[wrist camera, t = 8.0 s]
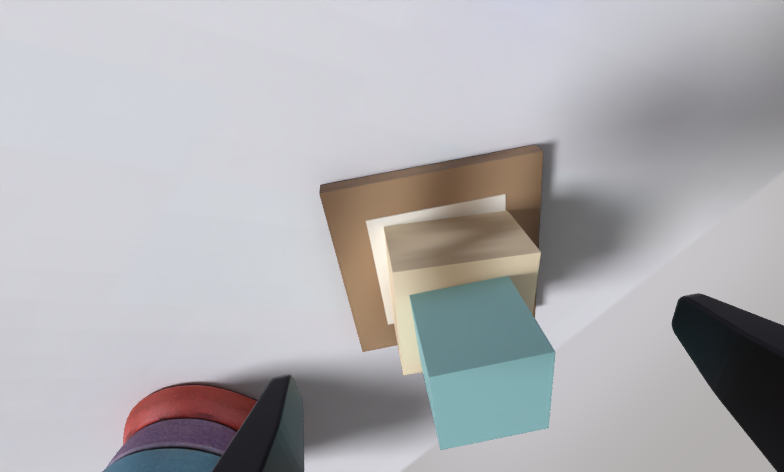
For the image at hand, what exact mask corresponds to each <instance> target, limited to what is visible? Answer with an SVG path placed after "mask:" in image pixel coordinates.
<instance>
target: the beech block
mask: <svg viewBox="0 0 784 472" xmlns="http://www.w3.org/2000/svg"><path fill="white" fill-rule="evenodd" d="M384 236H385V245H386V254H387V264H388V273H389V282H390V291H391V301H392V310H393V319H394V326H395V331H396V337H397V343H398V349H399V355H400V360H401V366H402V372H403V375H408V374H414V373H421V372H423V371H422V366H421V361H420V356H419V350H418V344H417V338H416V332H415V326H414V320H413V314H412V309H411V303H410V297H409V295H412V294H417V293H422V292H427V291H432V290H437V289H442V288H447V287H453V286H458V285H463V284H468V283H473V282H478V281H483V280H488V279H493V278H498V277H503V276H509V277H510V279H511V281H512V282H513V284H514V286H515V287H516V289H517V290H518V292H519V294H520V295H521V297H522V299H523V300H524V302H525V303H526V305H527V307H528V308H529V310H530V312H531V313H532V315H533V308H534V301H535V293H536V286H537V278H538V271H539V263H540V256H541V252H540V250H539V249H538V248H537V247H536V245H535V244H534V243H533V242H532V240H531V239H530V238H529V237H528V235H527V234H526V233H525V232H524V230H523V229H522V228H521V227H520V225H519V224H518V223H517V222H516V220H515V219H514V218H513V217H512V215H511V214H510V213H509V212H508V210H507V211H500V212H492V213H484V214H476V215H469V216H461V217H453V218H446V219H438V220H430V221H423V222H415V223H407V224H400V225H392V226H384Z"/></svg>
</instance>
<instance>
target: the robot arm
mask: <svg viewBox="0 0 784 472" xmlns="http://www.w3.org/2000/svg"><path fill="white" fill-rule="evenodd" d="M672 328H673V331H674V333H675V335H676V336H677V338H678V339H679V341H680V342H681V344H682V345H683V347H684V348H685V350H686V351H687V353H688V354H689V356H690V357H691V359H692V360H693V362H694V363H695V365H696V366H697V368H698V369H699V371H700V373H701V374H702V376H703V377H704V379H705V380H706V382H707V383H708V385H709V386H710V387H711V389H712V390H713V392H714V393H715V394H716V396H717V397H718V398H719V400H720V401H721V402H722V404H723V405H724V406H725V407H726V409H727V410H728V411H729V412H730V413H731V415H732V416H733V417H734V418H735V420H736V421H737V422H738V423H739V425H740V426H741V427H742V428H743V430H744V431H745V432H746V433H747V435H748V436H749V437H750V438H751V440H752V441H753V442H754V443H755V445H756V446H757V447H758V448H759V450H760V451H761V452H762V453H763V455H764V456H765V457H766V458H767V459H768V461H769V462H770V463H771V465H772V466H773V467H774V468H775V470H776V471H777V472H784V326H783V325H781V324H778V323H775V322H773V321H771V320H768V319H765V318H763V317H760V316H758V315H755V314H752V313H750V312H747V311H745V310H742V309H739V308H737V307H735V306H732V305H729V304H727V303H724V302H722V301H719V300H716V299H714V298H711V297H709V296H706V295H703V294H692V295H687V296H683V297H681V298H680V299H679V300H678V302H677V306H676V309H675V312H674V316H673V319H672ZM211 472H304V428H303V402H302V397H301V395H300V392H299V390H298V388H297V385H296V383H295V381H294V378H293V377H292V376H291V375H284V376H279V377H275V378H273V379H272V380H271V381H270V383H269V384H268V386H267V387H266V389H265V390H264V392H263V393H262V395H261V396H260V398H259V399H258V401H257V402H256V404H255V406H254V407H253V409H252V410H251V412H250V413H249V415H248V416H247V418H246V419H245V421H244V422H243V424H242V425H241V427H240V428H239V430H238V432H237V433H236V435H235V436H234V438H233V439H232V441H231V442H230V444H229V445H228V447H227V448H226V450H225V451H224V453H223V455H222V456H221V458H220V459H219V461H218V462H217V464H216V465H215V467H214V468H213V470H212V471H211Z"/></svg>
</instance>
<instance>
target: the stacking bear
mask: <svg viewBox="0 0 784 472" xmlns="http://www.w3.org/2000/svg"><path fill="white" fill-rule="evenodd" d="M256 402H257V401H255V400H253V399H251V398H249V397H246V396H244V395H241V394H238V393H235V392H232V391H229V390H225V389H221V388H217V387H211V386H202V385H185V386H176V387H171V388H166V389H163V390H160V391H158V392H155V393H153V394H151V395H149V396H147V397H146V398H144V399H143V400H141V401H140V402H139V403H138V404H137V405H136V406H135V407H134V408H133V409H132V410H131V412H130V414H129V416H128V418H127V421H126V424H125V429H124V436H123V446H122V448H121V449H120V450H119V451H118V452H117V454H116V455H115V456H114V458H113V459H112V460H111V462H110V463H109V465H108V466H107V468H106V469H105V470H104V471H103V472H211V471H212V470H213V468H214V467H215V465H216V464H217V462H218V461H219V459H220V458H221V456H222V455H223V453H224V451H225V450H226V448H227V447H228V445H229V444H230V442H231V441H232V439H233V438H234V436H235V435H236V433H237V432H238V430H239V428H240V427H241V425H242V424H243V422H244V421H245V419H246V418H247V416H248V415H249V413H250V412H251V410H252V409H253V407H254V406H255V404H256Z"/></svg>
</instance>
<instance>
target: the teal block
mask: <svg viewBox="0 0 784 472" xmlns="http://www.w3.org/2000/svg"><path fill="white" fill-rule="evenodd" d="M409 297H410V303H411V309H412V314H413V320H414V326H415V332H416V338H417V344H418V350H419V356H420V361H421V366H422V371H423V375H424V380H425V384H426V388H427V393H428V397H429V402H430V406H431V410H432V415H433V419H434V423H435V428H436V432H437V437H438V441H439V445H440V450H444V449H448V448H453V447H458V446H463V445H468V444H473V443H478V442H483V441H487V440H492V439H497V438H502V437H507V436H512V435H517V434H522V433H526V432H531V431H536V430H541V429H546V428H549V417H550V407H551V395H552V384H553V373H554V362H555V351H554V349H553V347H552V346H551V344H550V342H549V341H548V339H547V338H546V336H545V334H544V333H543V331H542V329H541V328H540V326H539V325H538V323H537V321H536V320H535V318H534V316H533V315H532V313H531V312H530V310H529V308H528V307H527V305H526V303H525V302H524V300H523V299H522V297H521V295H520V294H519V292H518V290H517V289H516V287H515V286H514V284H513V282H512V281H511V279H510V277H509V276H503V277H498V278H493V279H488V280H483V281H478V282H473V283H468V284H463V285H458V286H453V287H447V288H442V289H437V290H432V291H427V292H422V293H417V294H412V295H409Z"/></svg>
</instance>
